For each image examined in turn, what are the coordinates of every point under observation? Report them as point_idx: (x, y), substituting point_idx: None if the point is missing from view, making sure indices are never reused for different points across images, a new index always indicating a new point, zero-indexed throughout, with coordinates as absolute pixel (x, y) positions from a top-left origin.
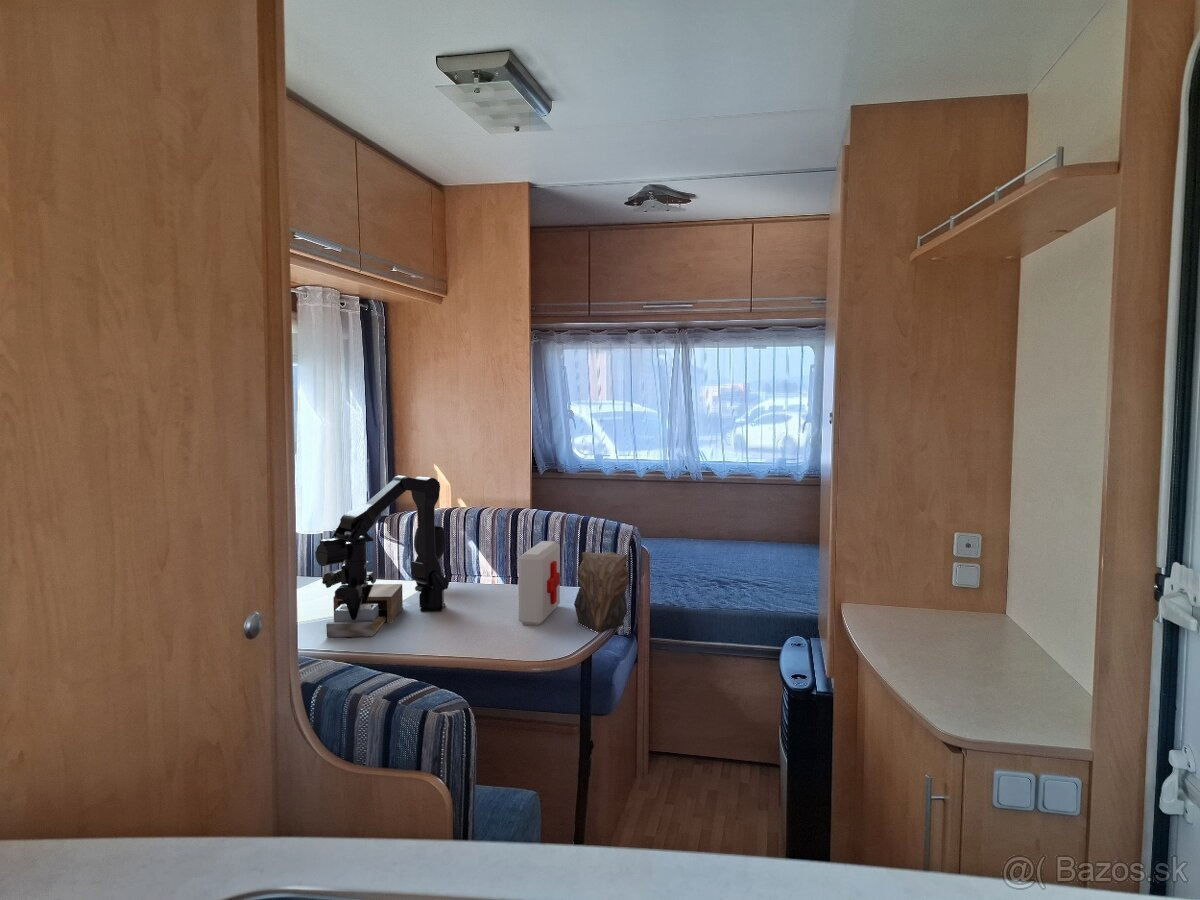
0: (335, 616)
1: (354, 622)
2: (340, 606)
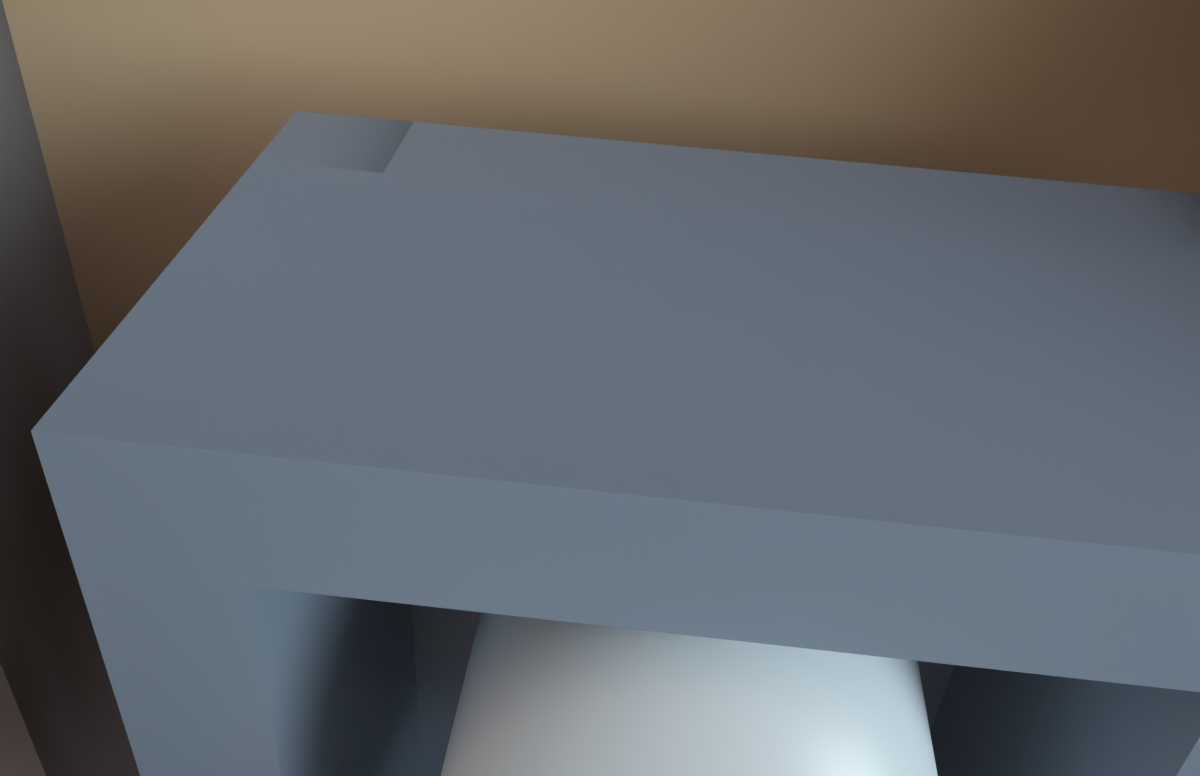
0: (200, 257)
1: (6, 742)
2: (895, 591)
